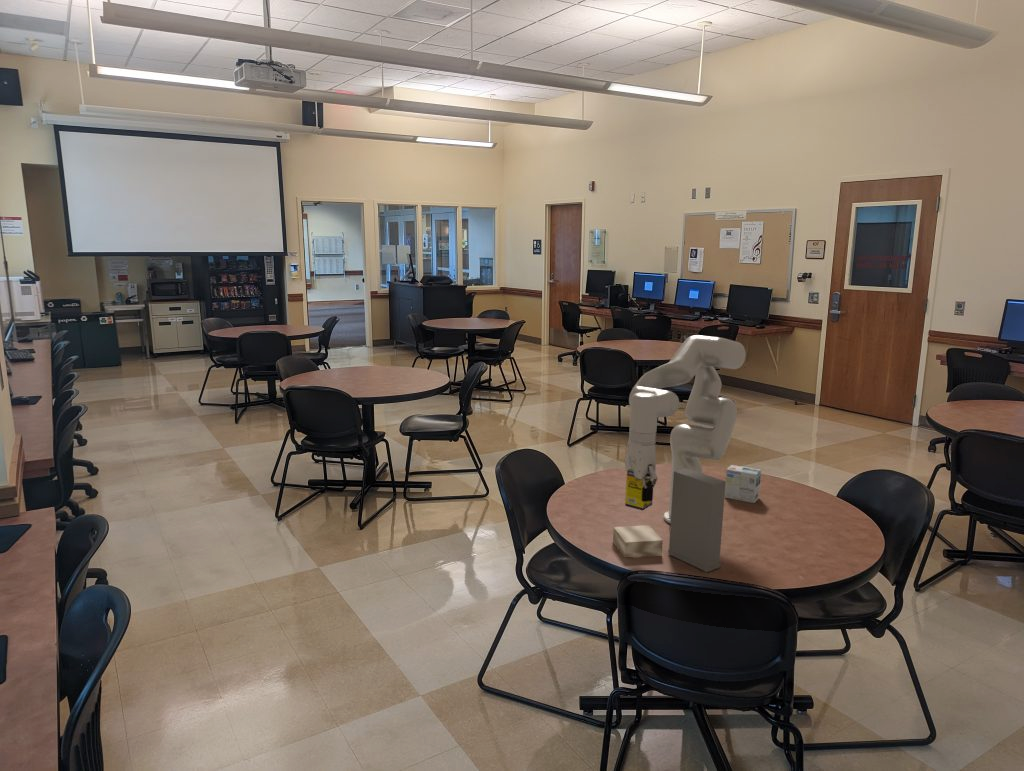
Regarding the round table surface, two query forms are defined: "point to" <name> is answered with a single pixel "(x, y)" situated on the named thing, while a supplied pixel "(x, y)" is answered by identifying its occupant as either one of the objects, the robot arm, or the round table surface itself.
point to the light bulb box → (742, 483)
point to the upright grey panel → (697, 519)
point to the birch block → (637, 541)
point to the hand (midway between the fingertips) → (639, 495)
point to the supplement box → (635, 492)
